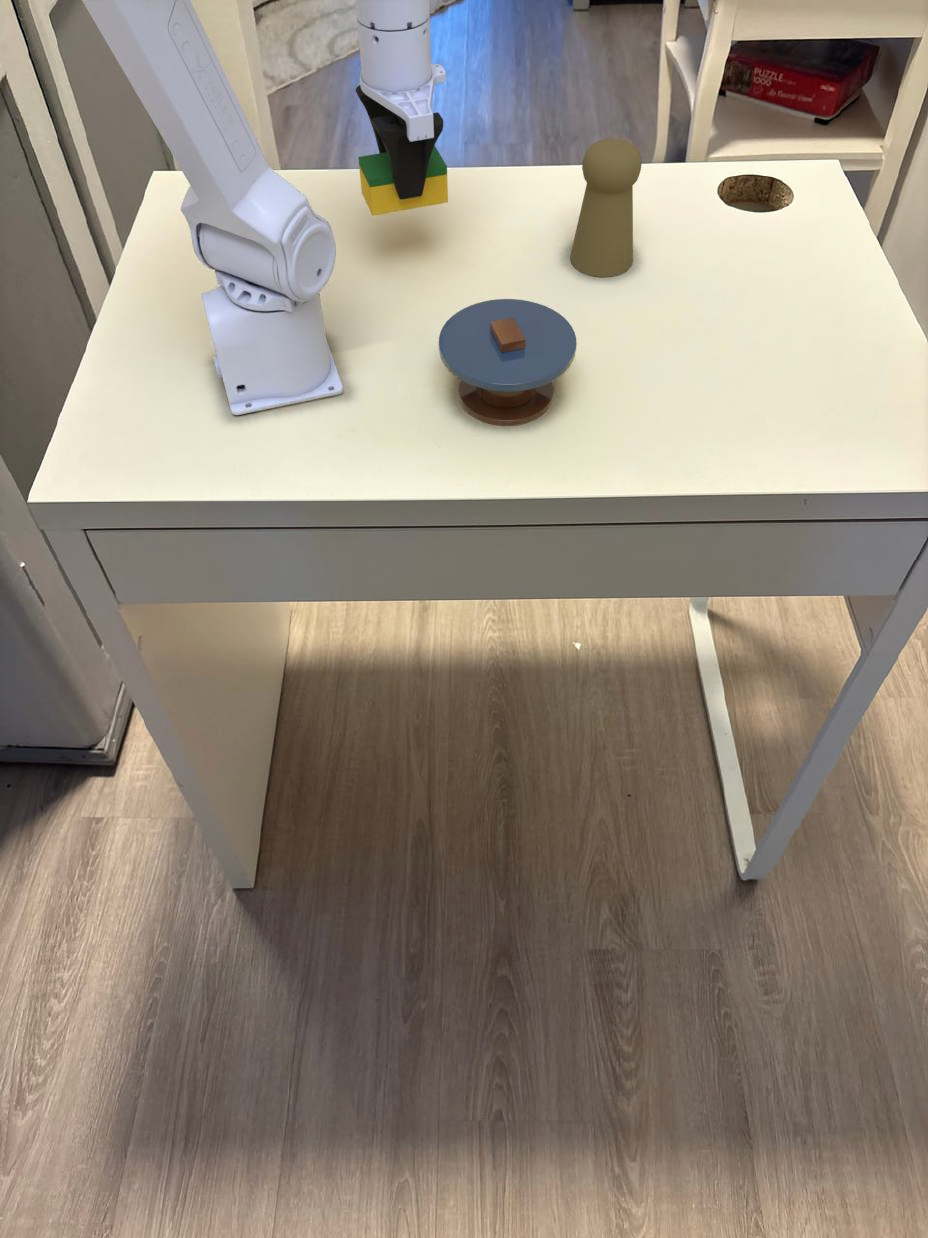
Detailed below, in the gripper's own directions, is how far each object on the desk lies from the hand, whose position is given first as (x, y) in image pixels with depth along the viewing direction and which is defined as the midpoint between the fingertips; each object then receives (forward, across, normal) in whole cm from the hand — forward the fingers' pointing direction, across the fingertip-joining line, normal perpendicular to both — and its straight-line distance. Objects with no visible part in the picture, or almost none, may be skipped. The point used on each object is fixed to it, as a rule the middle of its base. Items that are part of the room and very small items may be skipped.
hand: (403, 183), depth 88 cm
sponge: (+1, 0, 0) cm, 1 cm away
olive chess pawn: (+8, -5, -18) cm, 20 cm away
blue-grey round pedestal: (+8, -21, -3) cm, 22 cm away
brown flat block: (+3, -21, -3) cm, 21 cm away
